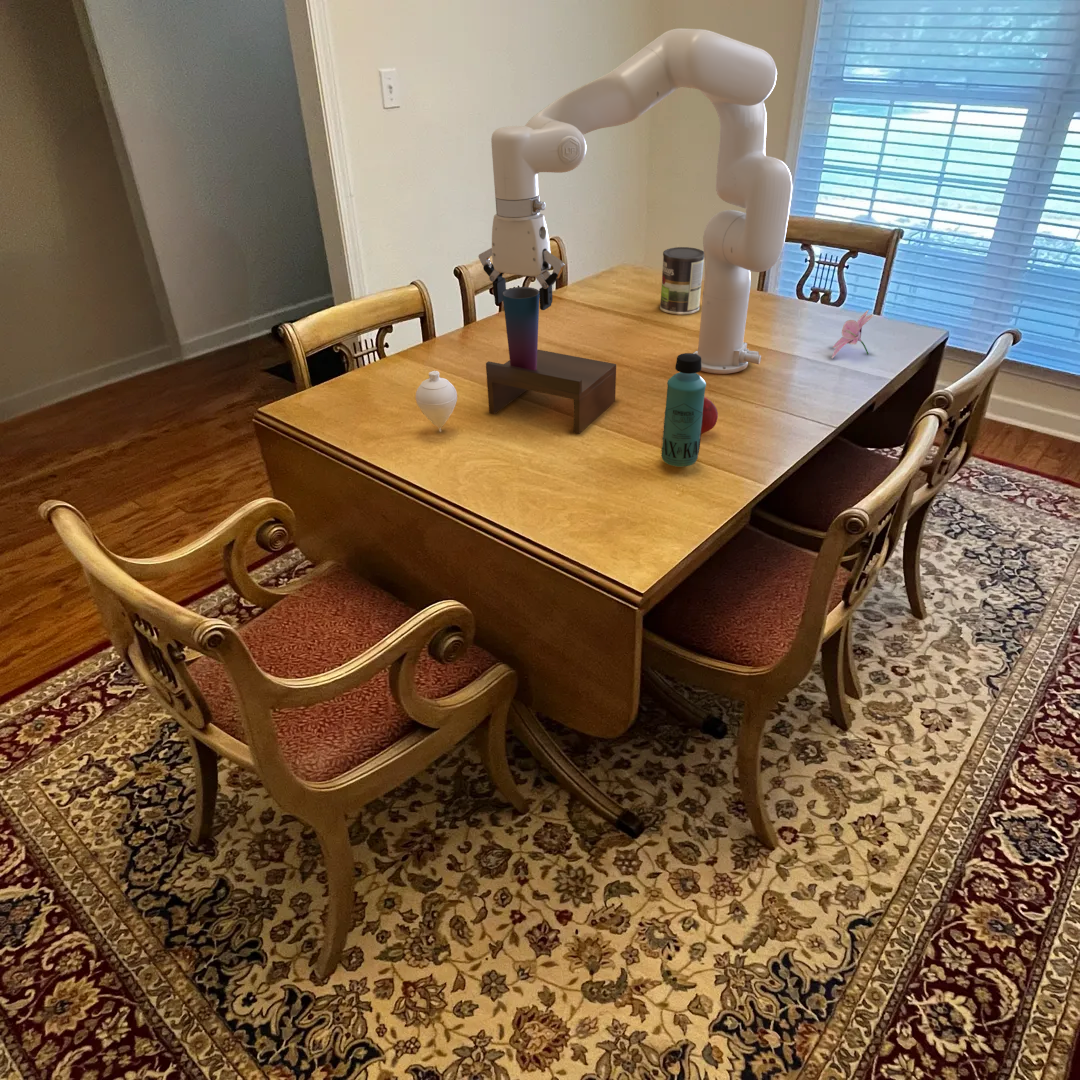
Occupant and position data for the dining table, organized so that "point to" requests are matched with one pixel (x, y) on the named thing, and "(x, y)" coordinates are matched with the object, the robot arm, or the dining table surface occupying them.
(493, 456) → the dining table surface
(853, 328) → the lily
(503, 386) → the shelf
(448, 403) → the spinning top
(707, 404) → the onion
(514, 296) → the cup
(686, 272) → the coffee can
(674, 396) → the beverage bottle
